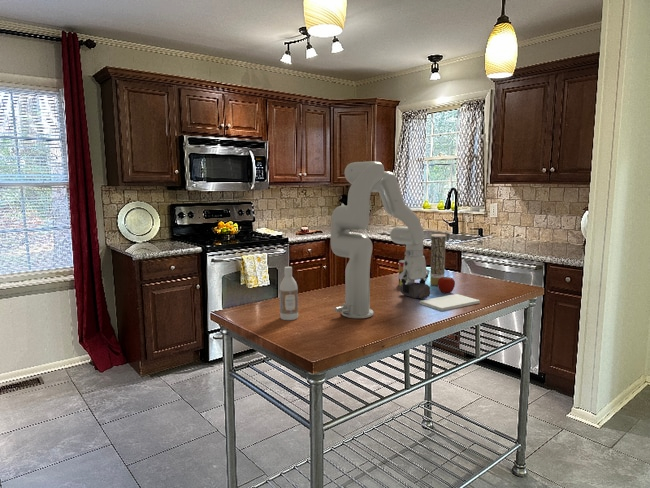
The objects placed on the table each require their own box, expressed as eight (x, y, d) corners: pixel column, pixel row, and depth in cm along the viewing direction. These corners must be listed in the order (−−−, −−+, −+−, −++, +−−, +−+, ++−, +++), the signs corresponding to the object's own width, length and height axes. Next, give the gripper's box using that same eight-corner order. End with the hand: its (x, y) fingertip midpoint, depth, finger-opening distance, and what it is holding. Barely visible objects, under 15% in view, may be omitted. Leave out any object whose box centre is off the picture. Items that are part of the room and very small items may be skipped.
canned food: (402, 282, 235) (403, 259, 233) (417, 284, 230) (417, 260, 228) (395, 285, 228) (396, 261, 227) (410, 287, 224) (410, 263, 222)
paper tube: (444, 286, 225) (446, 236, 221) (430, 286, 226) (431, 235, 223) (443, 283, 232) (445, 234, 228) (430, 282, 233) (431, 234, 229)
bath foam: (281, 321, 173) (280, 269, 170) (279, 316, 179) (277, 265, 176) (299, 320, 174) (298, 268, 171) (296, 314, 181) (295, 264, 178)
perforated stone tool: (396, 295, 209) (396, 280, 208) (403, 293, 213) (404, 278, 212) (424, 301, 198) (424, 286, 197) (431, 299, 202) (431, 284, 201)
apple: (453, 290, 217) (453, 274, 215) (456, 295, 209) (456, 278, 208) (436, 290, 217) (436, 274, 216) (438, 294, 210) (439, 278, 208)
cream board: (441, 311, 184) (441, 308, 184) (419, 303, 195) (419, 300, 195) (479, 303, 195) (479, 300, 195) (456, 296, 206) (456, 293, 206)
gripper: (404, 256, 195) (404, 295, 198) (435, 252, 204) (434, 290, 207) (393, 254, 202) (393, 292, 204) (423, 250, 210) (422, 286, 213)
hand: (414, 291), depth 205 cm, fingers open, 9 cm apart
